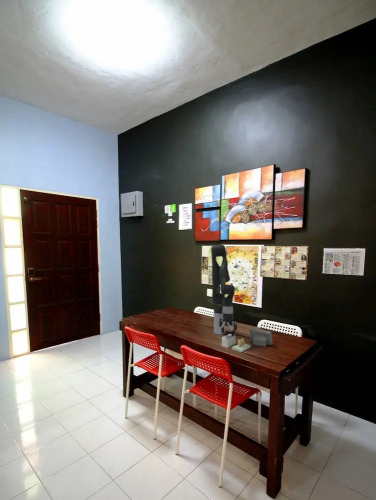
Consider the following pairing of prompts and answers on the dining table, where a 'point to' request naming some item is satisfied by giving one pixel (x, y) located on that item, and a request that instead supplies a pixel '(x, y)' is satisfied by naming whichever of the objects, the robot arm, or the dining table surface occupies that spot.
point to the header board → (241, 346)
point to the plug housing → (228, 340)
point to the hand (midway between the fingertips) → (227, 334)
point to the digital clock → (261, 337)
